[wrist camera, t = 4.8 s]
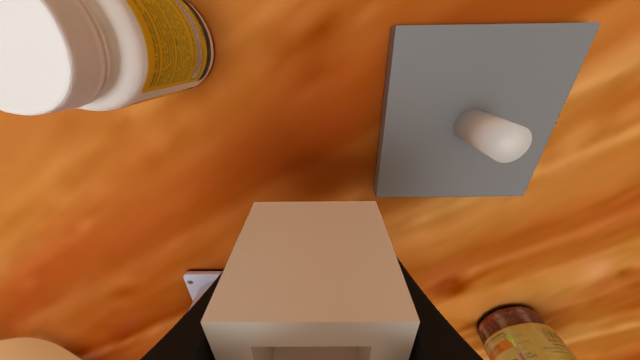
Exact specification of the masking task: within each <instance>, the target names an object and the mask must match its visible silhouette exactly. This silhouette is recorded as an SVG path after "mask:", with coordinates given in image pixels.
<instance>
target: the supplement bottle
mask: <svg viewBox="0 0 640 360" xmlns="http://www.w3.org/2000/svg"><path fill="white" fill-rule="evenodd" d="M213 57H214V49H213V42H212V38H211V35H210V32H209V29H208V27H207V25H206V23H205V21H204V20H203V18H202V17H201V15H200V14H199V13H198V11H197V10H196V9H195V8H194V7H193V6H192V5H191V4H190V3H189V2H188V1H186V0H0V110H2V111H5V112H9V113H13V114H20V115H42V114H48V113H53V112H58V111H63V110H69V109H75V108H80V109H84V110H90V111H108V110H115V109H119V108H124V107H127V106H130V105H133V104H137V103H140V102H144V101H148V100H151V99H155V98H158V97H162V96H166V95H169V94H173V93H176V92H180V91H183V90H187V89H190V88H193V87H195V86H197V85H198V84H200V83H201V82H202V81H203V80H204V79H205V78H206V76H207V75H208V73H209V71H210V69H211V67H212V63H213Z"/></svg>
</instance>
